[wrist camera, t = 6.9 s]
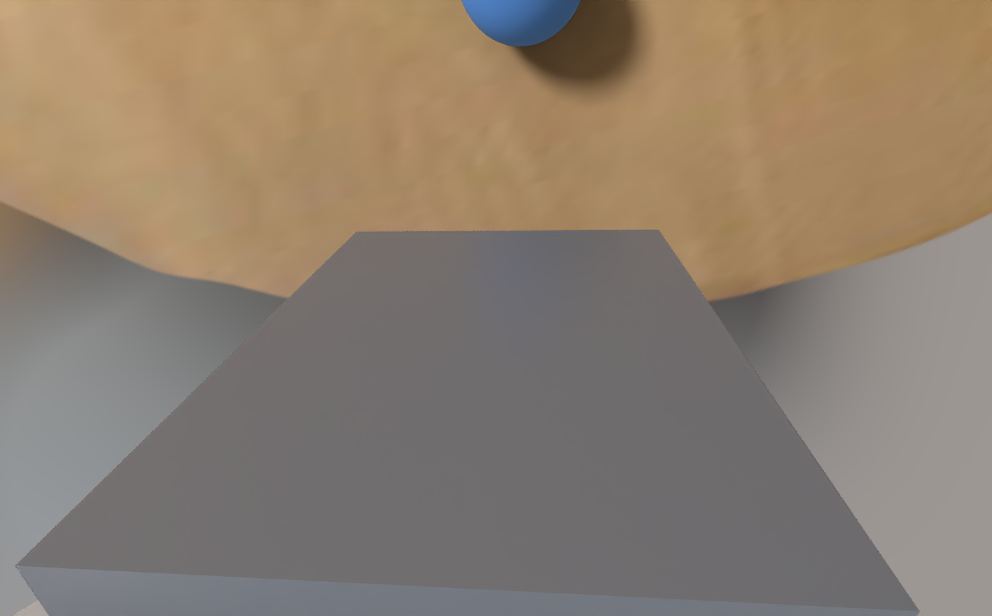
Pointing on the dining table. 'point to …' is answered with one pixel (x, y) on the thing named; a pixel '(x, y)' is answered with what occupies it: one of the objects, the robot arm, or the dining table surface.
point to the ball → (520, 19)
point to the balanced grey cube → (474, 455)
